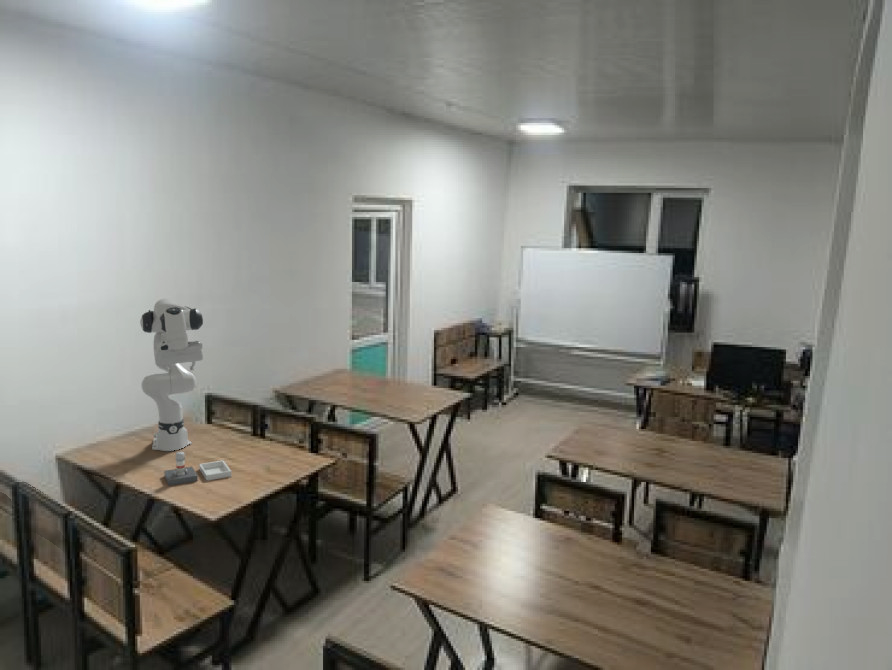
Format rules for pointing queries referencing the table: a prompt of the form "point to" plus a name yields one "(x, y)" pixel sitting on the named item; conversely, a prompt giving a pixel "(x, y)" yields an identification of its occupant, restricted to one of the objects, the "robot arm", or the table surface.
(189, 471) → the fuse holder
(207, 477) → the tray
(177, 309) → the robot arm
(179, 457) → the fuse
